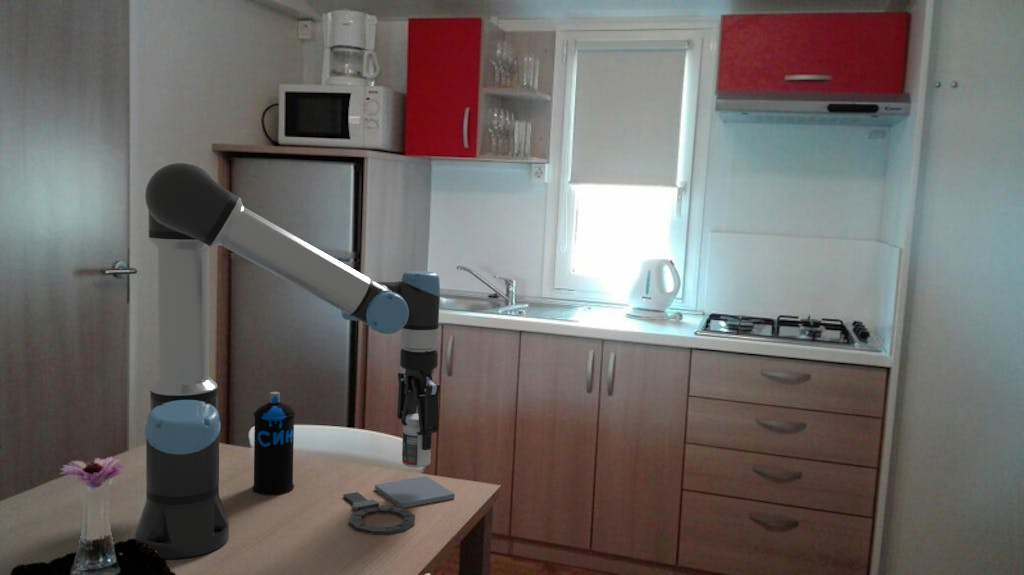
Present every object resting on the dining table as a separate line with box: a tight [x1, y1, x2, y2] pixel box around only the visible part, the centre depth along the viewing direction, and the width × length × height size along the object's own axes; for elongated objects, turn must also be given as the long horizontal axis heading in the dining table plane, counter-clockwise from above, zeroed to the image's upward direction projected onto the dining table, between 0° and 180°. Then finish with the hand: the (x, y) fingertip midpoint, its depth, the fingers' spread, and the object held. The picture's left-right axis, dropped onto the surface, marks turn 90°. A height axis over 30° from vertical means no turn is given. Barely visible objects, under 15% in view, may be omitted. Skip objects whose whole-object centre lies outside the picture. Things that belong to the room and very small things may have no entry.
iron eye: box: [342, 491, 416, 535], centre depth 163 cm, size 12×21×1 cm, turn 34°
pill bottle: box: [401, 413, 430, 468], centre depth 174 cm, size 6×6×10 cm
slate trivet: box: [374, 475, 456, 509], centre depth 175 cm, size 12×12×1 cm
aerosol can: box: [252, 391, 296, 496], centre depth 173 cm, size 8×8×20 cm
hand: (416, 459), depth 174 cm, fingers closed on pill bottle, 6 cm apart
